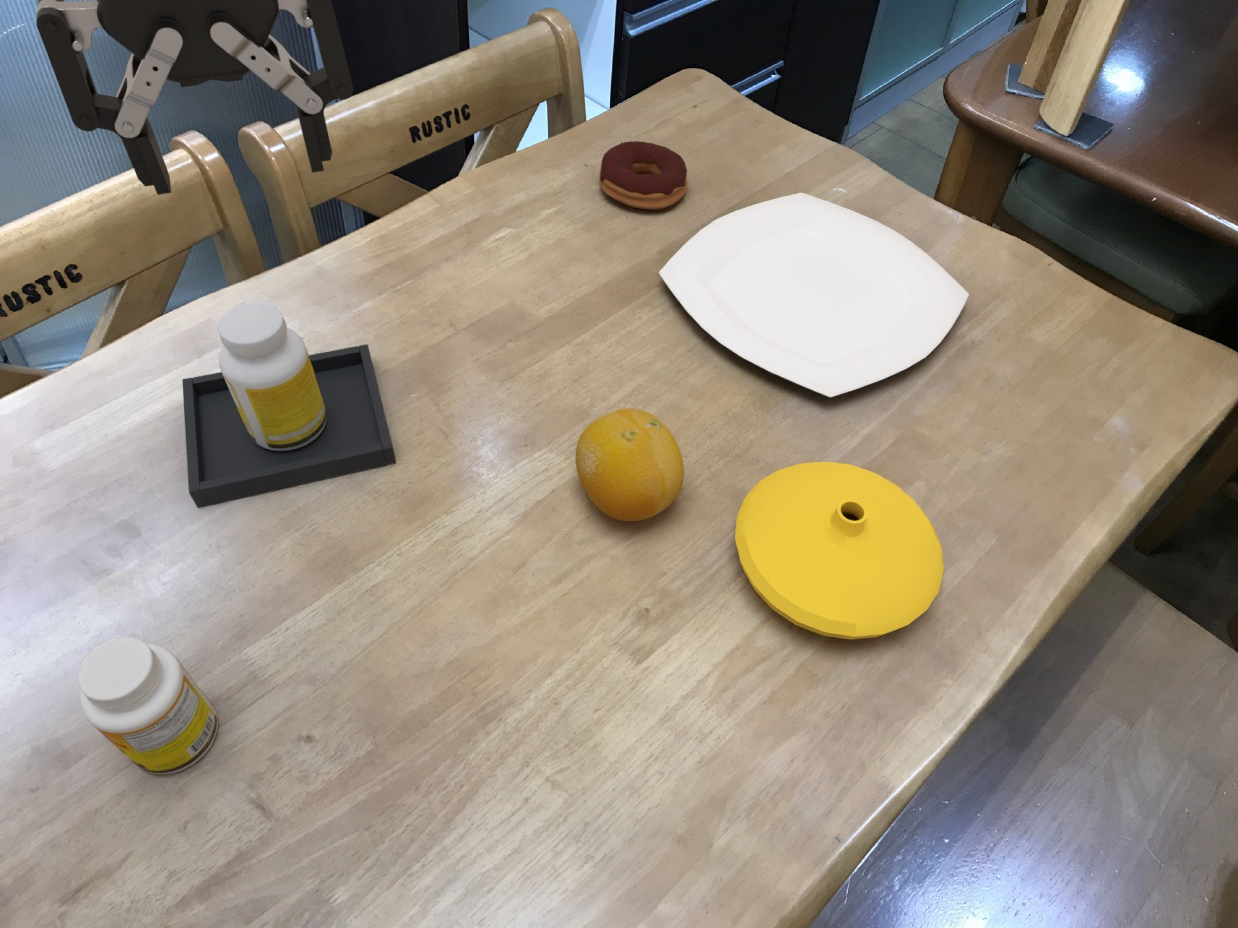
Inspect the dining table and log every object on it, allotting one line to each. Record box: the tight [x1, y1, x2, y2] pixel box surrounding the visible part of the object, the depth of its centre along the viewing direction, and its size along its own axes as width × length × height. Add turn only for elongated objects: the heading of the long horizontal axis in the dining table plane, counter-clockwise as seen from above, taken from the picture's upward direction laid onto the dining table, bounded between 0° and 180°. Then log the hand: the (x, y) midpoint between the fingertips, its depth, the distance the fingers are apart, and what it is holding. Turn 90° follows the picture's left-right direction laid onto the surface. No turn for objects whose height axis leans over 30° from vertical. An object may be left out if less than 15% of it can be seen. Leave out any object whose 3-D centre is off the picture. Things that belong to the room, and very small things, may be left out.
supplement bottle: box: [77, 636, 219, 775], centre depth 54 cm, size 6×6×10 cm
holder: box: [181, 343, 397, 508], centre depth 74 cm, size 16×13×2 cm
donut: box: [598, 140, 688, 211], centre depth 98 cm, size 10×10×4 cm
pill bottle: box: [217, 301, 327, 451], centre depth 70 cm, size 6×6×12 cm
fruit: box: [575, 408, 685, 522], centre depth 69 cm, size 9×8×8 cm
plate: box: [658, 192, 970, 399], centre depth 88 cm, size 27×27×2 cm
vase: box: [734, 461, 945, 640], centre depth 66 cm, size 16×16×7 cm
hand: (242, 175), depth 52 cm, fingers open, 8 cm apart
